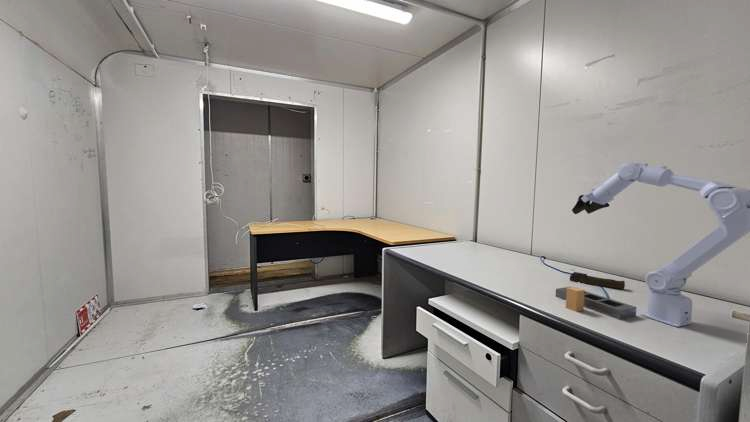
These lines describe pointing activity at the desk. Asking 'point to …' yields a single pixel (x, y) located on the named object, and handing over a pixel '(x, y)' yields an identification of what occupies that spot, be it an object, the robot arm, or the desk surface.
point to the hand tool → (597, 281)
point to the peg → (575, 299)
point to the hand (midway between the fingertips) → (580, 211)
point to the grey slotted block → (603, 304)
